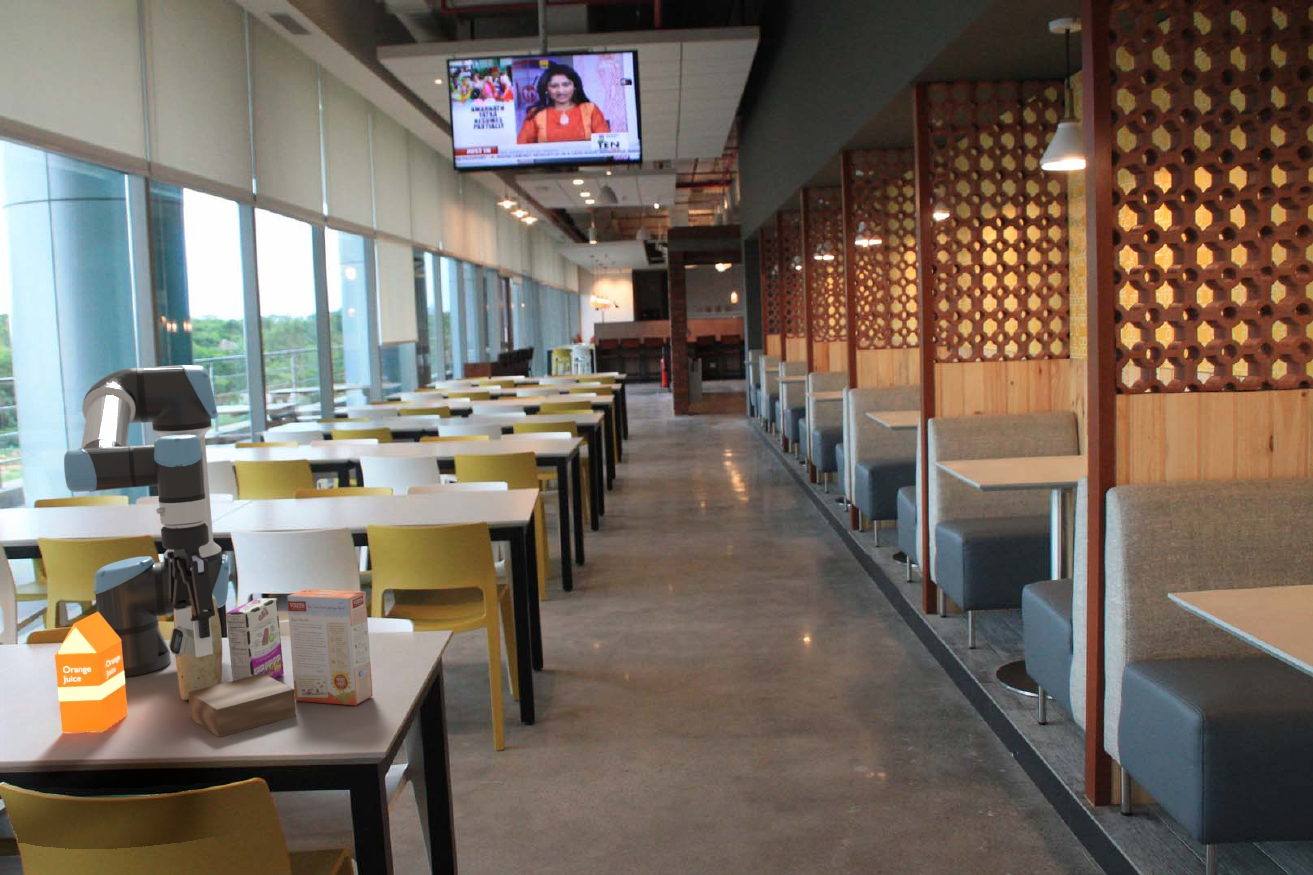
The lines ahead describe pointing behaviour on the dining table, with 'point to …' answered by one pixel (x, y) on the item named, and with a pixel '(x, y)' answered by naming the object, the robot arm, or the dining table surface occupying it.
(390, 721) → the dining table surface
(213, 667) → the food model
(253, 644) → the candy bar box
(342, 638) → the cracker box
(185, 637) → the wristwatch
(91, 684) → the orange juice
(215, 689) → the walnut base
